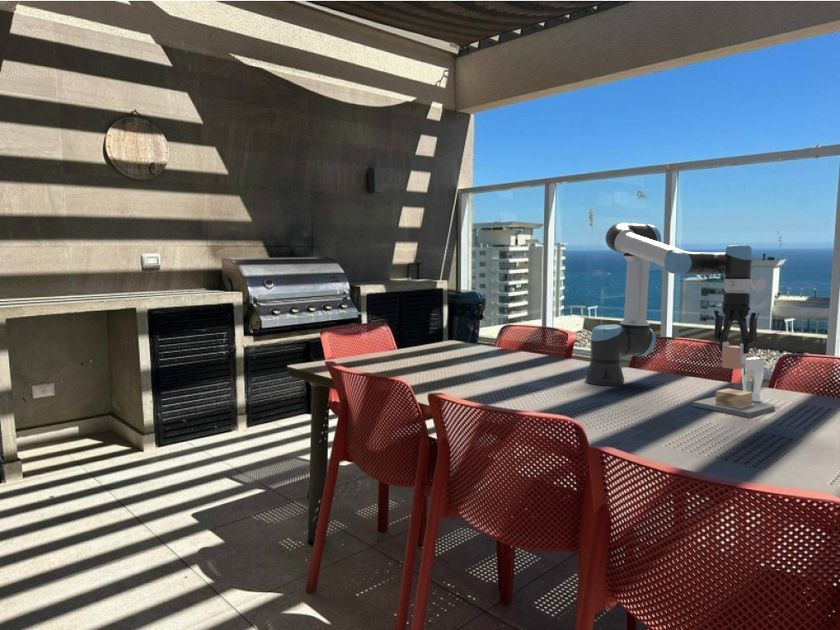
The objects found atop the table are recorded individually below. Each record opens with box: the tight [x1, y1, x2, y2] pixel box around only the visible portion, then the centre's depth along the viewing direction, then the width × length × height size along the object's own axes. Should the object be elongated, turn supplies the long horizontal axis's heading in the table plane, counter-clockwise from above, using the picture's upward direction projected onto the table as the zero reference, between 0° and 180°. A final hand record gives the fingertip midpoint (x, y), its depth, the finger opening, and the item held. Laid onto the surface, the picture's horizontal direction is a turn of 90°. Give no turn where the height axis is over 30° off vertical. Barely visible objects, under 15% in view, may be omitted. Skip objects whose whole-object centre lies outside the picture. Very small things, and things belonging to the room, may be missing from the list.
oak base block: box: [715, 388, 752, 407], centre depth 189 cm, size 8×8×4 cm
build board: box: [692, 396, 776, 419], centre depth 189 cm, size 18×18×2 cm
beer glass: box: [740, 356, 765, 403], centre depth 202 cm, size 7×7×15 cm
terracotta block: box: [721, 345, 745, 370], centre depth 188 cm, size 5×5×7 cm
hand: (733, 362), depth 188 cm, fingers closed on terracotta block, 5 cm apart
